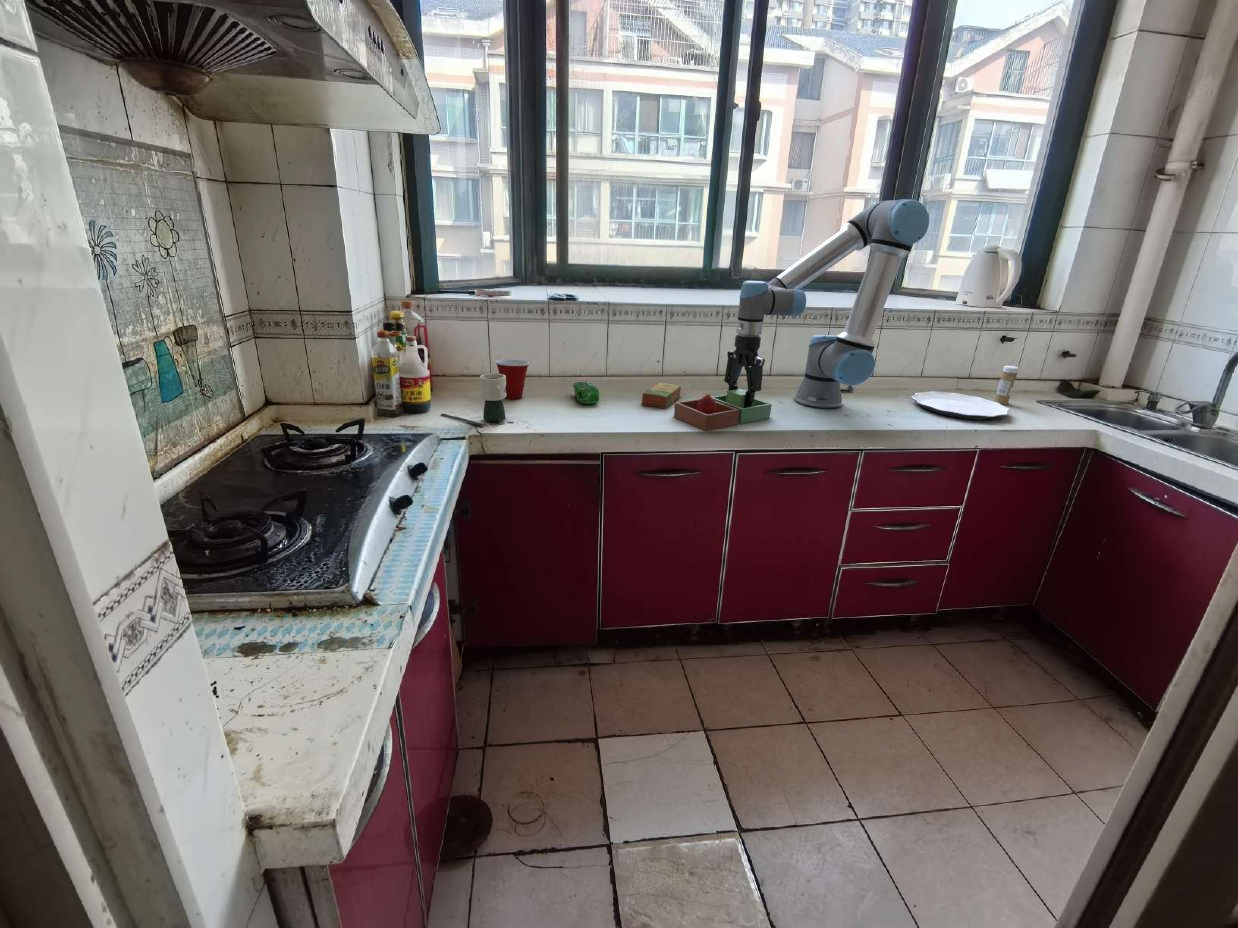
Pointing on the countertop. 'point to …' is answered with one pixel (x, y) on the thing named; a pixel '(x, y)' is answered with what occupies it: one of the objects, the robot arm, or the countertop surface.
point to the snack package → (586, 392)
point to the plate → (960, 405)
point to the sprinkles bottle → (1006, 384)
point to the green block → (736, 397)
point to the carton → (661, 395)
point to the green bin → (749, 410)
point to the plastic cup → (513, 376)
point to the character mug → (493, 396)
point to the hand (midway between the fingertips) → (739, 408)
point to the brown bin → (703, 421)
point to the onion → (706, 405)
